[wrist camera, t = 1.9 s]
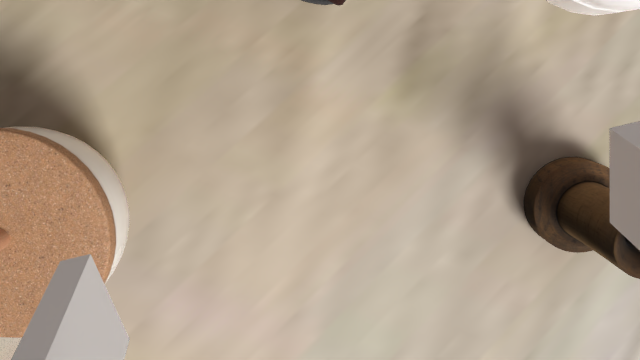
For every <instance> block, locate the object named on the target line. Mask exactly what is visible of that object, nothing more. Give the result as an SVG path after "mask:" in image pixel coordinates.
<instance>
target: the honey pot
mask: <svg viewBox="0 0 640 360" xmlns="http://www.w3.org/2000/svg"><path fill="white" fill-rule="evenodd" d="M546 1H548V2H549V3H551V4H553V5H555V6H558V7H560V8H562V9H564V10H567V11H569V12H572V13H579V14H587V15H595V16H596V15H603V14H610V13H617V12H624V11H630V10H636V9H640V0H546Z"/></svg>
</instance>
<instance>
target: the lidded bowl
mask: <svg viewBox="0 0 640 360" xmlns="http://www.w3.org/2000/svg"><path fill="white" fill-rule="evenodd" d="M129 225H130V214H129V205H128V200H127V196H126V193H125V190H124V188H123V185H122V183H121V181H120V179H119V177H118V175H117V174H116V172H115V171H114V169H113V168H112V167H111V165H110V164H109V163H108V161H107V160H106V159H105V158H104V157H103V156H102V155H101V154H100V153H99V152H98V151H96V150H95V149H93V148H92V147H91V146H89V145H88V144H87V143H85V142H83V141H81V140H79V139H77V138H75V137H74V136H71V135H68V134H65V133H62V132H59V131H56V130H51V129H46V128H41V127H20V126H14V127H6V128H0V337H18V338H19V337H23V335H24V333H25V331H26V329H27V327H28V325H29V323H30V321H31V319H32V317H33V315H34V313H35V311H36V309H37V307H38V305H39V303H40V301H41V299H42V297H43V295H44V293H45V291H46V289H47V287H48V285H49V283H50V281H51V279H52V277H53V275H54V273H55V271H56V269H57V267H58V265H59V263H60V261H63V260H67V259H71V258H76V257H80V256H84V255H88V254H91V256H92V258H93V260H94V262H95V265H96V267H97V269H98V271H99V273H100V276H101V278H102V280H103V282H104V284H105V283H106V282H107V280H108V279H109V278H110V276H111V275H112V274H113V272H114V270H115V268H116V266H117V264H118V262H119V260H120V259H121V257H122V255H123V252H124V248H125V245H126V242H127V238H128V232H129Z"/></svg>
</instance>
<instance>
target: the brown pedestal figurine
mask: <svg viewBox="0 0 640 360" xmlns="http://www.w3.org/2000/svg"><path fill="white" fill-rule="evenodd" d="M524 210H525V214H526V217H527V220H528V222H529V224H530V225H531V227H532V228H533V230H534V231H535V232H536V233H537V234H538V235H539V236H541V237H542V238H543V239H545V240H546V241H547V242H549V243H550V244H552V245H553V246H555V247H557V248H559V249H562V250H565V251H569V252H587V251H592V250H594V251H595V252H597V253H598V254H600V255H601V256H603V257H604V258H606V259H607V260H609V261H610V262H611V263H613V264H614V265H615V266H617V267H618V268H619V269H621V270H622V271H624V272H625V273H627V274H628V275H630V276H632V277H635V278H639V279H640V250H638V249H637V248H636V247H635V246H634V245H633V244H632V243H631V242H630V241H629V240H628V239H627V238H626V237H625V236H624V235H622V234H621V233H620V232H619V231H618V230H617V229H616V228H615V227H614V226H613V225H612V224H611V223H610V169H609V168H608V167H606V166H604V165H601V164H599V163H596V162H593V161H591V160H588V159H584V158H579V157H567V158H561V159H557V160H555V161H552V162H550V163H548V164H547V165H545V166H544V167H542V168H541V169H540V170H539V171H538V172H537V173H536V174H535V175H534V177H533V178H532V179H531V181H530V183H529V185H528V187H527V189H526V193H525V197H524Z"/></svg>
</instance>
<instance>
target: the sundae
mask: <svg viewBox="0 0 640 360" xmlns="http://www.w3.org/2000/svg"><path fill="white" fill-rule="evenodd" d="M302 1H305V2H309V3H314V4H321V5H328V4H336V5H342V4H343V3H344V2H345V0H302Z"/></svg>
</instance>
